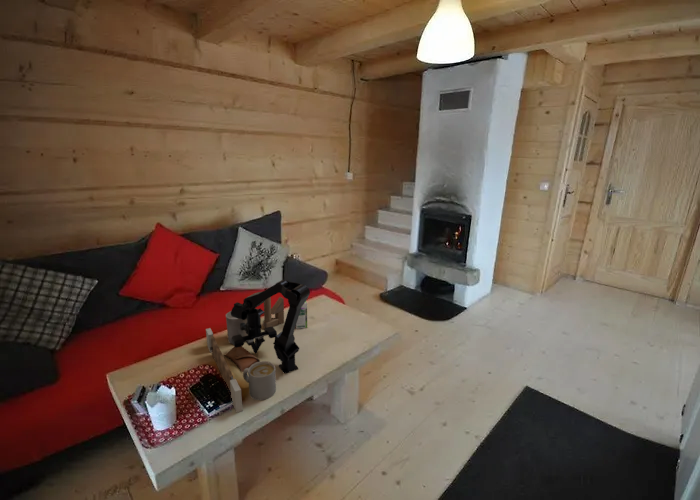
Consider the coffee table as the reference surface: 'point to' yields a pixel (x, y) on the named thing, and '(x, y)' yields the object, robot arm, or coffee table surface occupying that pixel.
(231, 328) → the pillar candle
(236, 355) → the sunglasses case
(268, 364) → the coffee mug
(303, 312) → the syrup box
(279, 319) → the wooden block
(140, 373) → the coffee table surface
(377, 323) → the coffee table surface
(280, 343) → the robot arm
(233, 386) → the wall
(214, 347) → the door
